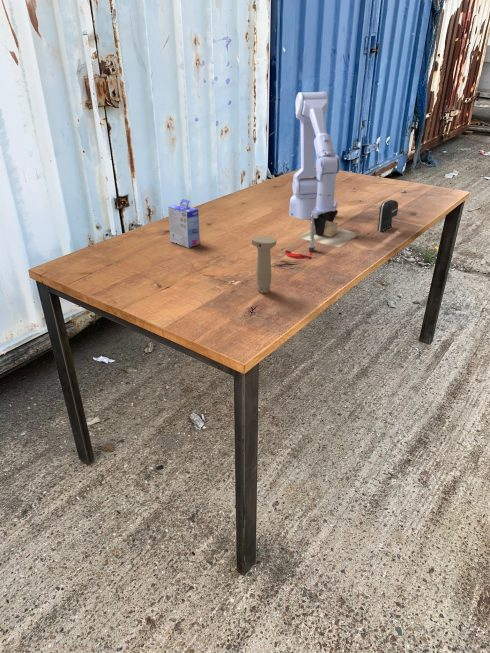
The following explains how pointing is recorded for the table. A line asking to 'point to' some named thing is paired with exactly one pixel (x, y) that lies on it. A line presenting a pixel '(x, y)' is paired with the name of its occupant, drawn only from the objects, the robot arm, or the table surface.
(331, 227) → the block
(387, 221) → the battery charger
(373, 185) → the table surface
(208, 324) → the table surface
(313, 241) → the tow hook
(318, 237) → the beige square mat
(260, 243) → the handle
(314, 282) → the table surface
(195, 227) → the ink cartridge box
